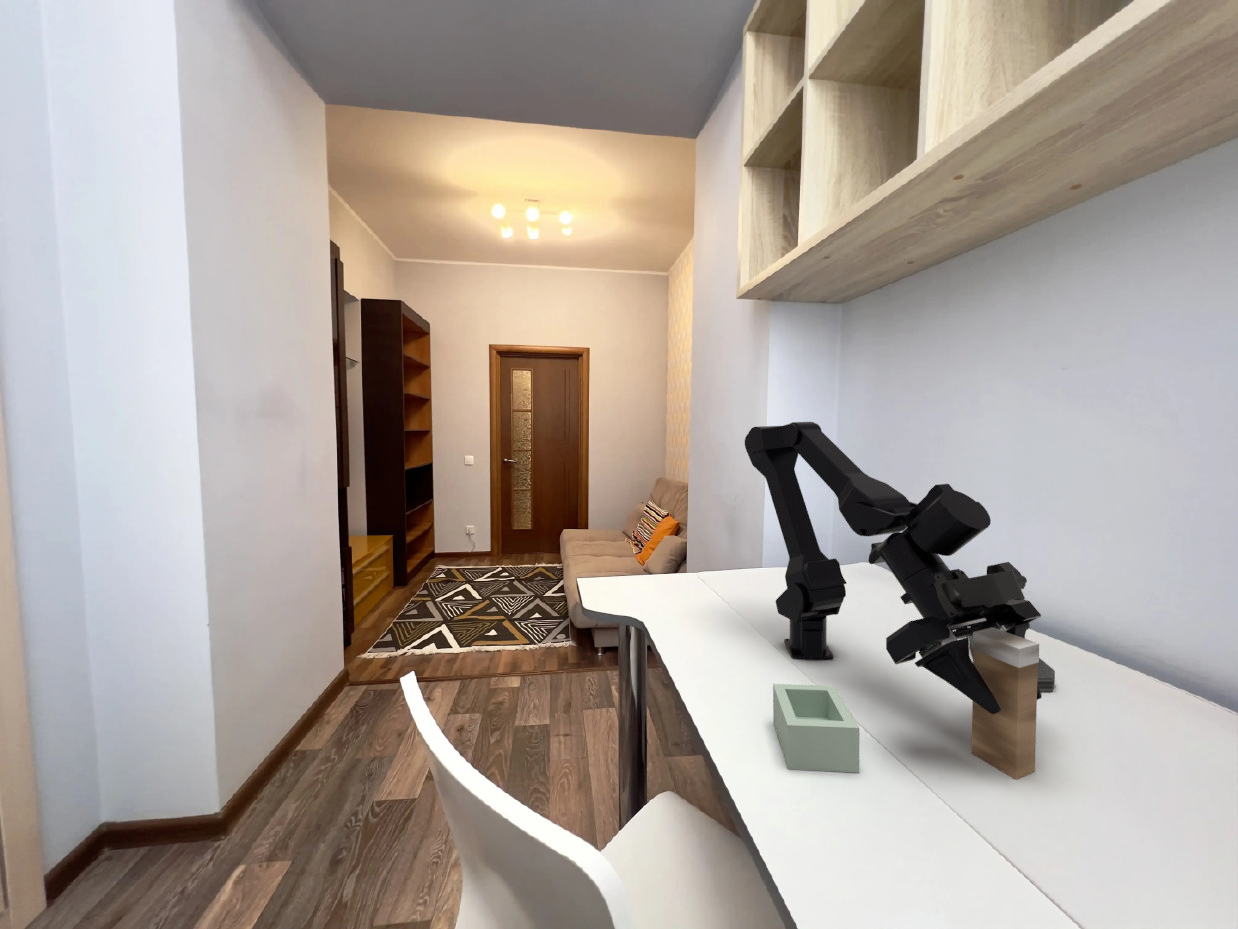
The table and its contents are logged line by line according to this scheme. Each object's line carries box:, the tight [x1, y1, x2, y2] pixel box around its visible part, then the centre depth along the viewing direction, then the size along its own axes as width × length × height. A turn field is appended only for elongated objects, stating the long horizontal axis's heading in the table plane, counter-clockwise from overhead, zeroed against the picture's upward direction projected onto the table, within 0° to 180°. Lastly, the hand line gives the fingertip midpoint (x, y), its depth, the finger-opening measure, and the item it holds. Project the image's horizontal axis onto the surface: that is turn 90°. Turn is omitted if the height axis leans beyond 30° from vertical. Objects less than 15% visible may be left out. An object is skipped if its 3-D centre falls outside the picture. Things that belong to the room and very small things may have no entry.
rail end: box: [971, 627, 1040, 780], centre depth 55 cm, size 5×3×14 cm, turn 20°
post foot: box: [772, 683, 860, 773], centre depth 59 cm, size 9×7×5 cm
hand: (1017, 706), depth 53 cm, fingers open, 6 cm apart
